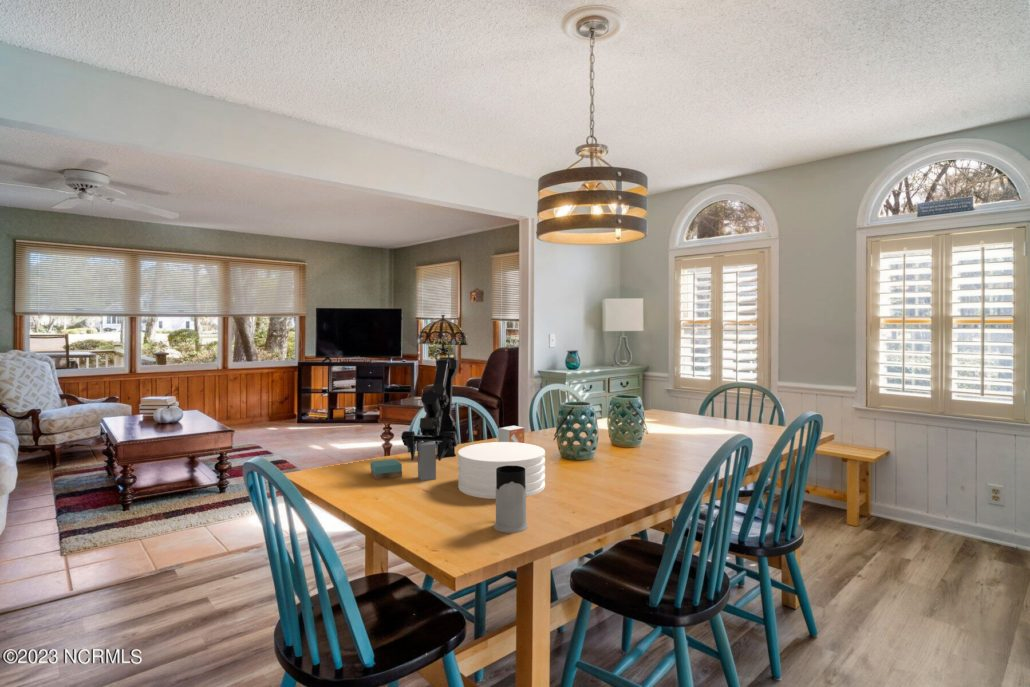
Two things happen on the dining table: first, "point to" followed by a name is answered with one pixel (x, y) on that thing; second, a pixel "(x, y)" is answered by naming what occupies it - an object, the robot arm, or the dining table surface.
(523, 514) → the glass holder
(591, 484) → the dining table surface
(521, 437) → the small box
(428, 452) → the grey pillar block
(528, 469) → the plate stack
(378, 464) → the teal slab
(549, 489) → the dining table surface
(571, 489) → the dining table surface
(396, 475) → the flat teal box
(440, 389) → the robot arm
